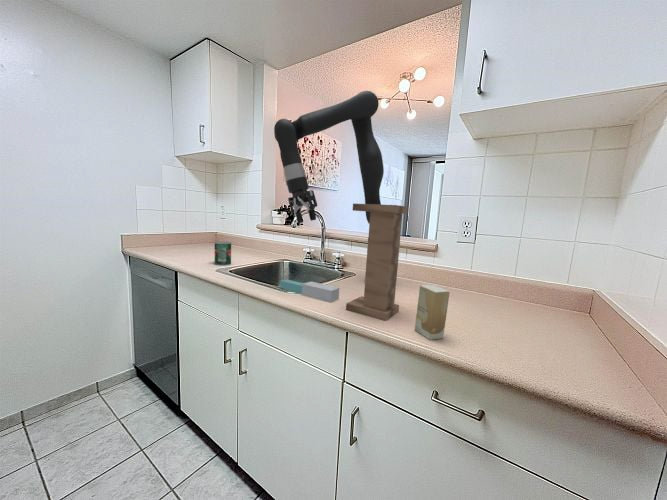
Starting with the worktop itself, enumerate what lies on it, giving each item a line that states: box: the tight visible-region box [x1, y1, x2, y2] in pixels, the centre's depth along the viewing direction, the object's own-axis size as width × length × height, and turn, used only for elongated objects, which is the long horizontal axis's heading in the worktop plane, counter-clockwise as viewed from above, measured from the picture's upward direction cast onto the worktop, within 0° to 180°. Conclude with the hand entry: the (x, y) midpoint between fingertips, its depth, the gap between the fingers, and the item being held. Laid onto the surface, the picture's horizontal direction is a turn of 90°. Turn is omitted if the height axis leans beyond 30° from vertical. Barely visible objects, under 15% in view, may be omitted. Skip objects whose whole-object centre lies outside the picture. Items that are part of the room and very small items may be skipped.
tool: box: [279, 278, 340, 303], centre depth 98 cm, size 23×5×4 cm, turn 58°
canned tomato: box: [214, 241, 232, 266], centre depth 139 cm, size 8×8×11 cm
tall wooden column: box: [345, 203, 409, 322], centre depth 83 cm, size 10×13×32 cm
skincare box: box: [414, 284, 450, 341], centre depth 69 cm, size 6×4×12 cm
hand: (306, 221), depth 104 cm, fingers open, 8 cm apart
